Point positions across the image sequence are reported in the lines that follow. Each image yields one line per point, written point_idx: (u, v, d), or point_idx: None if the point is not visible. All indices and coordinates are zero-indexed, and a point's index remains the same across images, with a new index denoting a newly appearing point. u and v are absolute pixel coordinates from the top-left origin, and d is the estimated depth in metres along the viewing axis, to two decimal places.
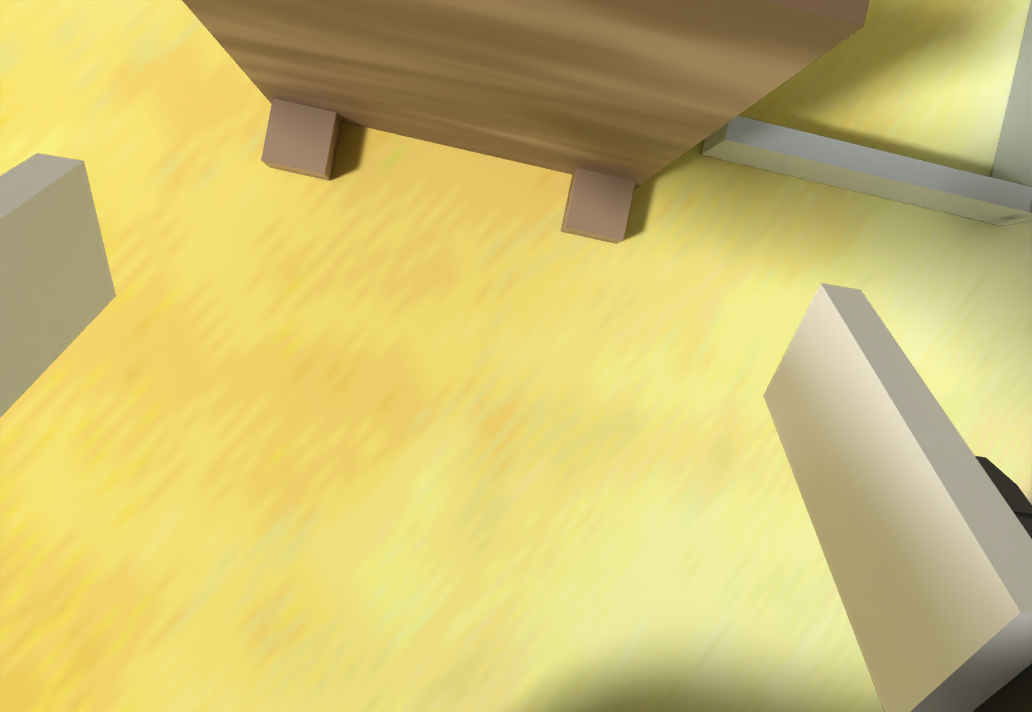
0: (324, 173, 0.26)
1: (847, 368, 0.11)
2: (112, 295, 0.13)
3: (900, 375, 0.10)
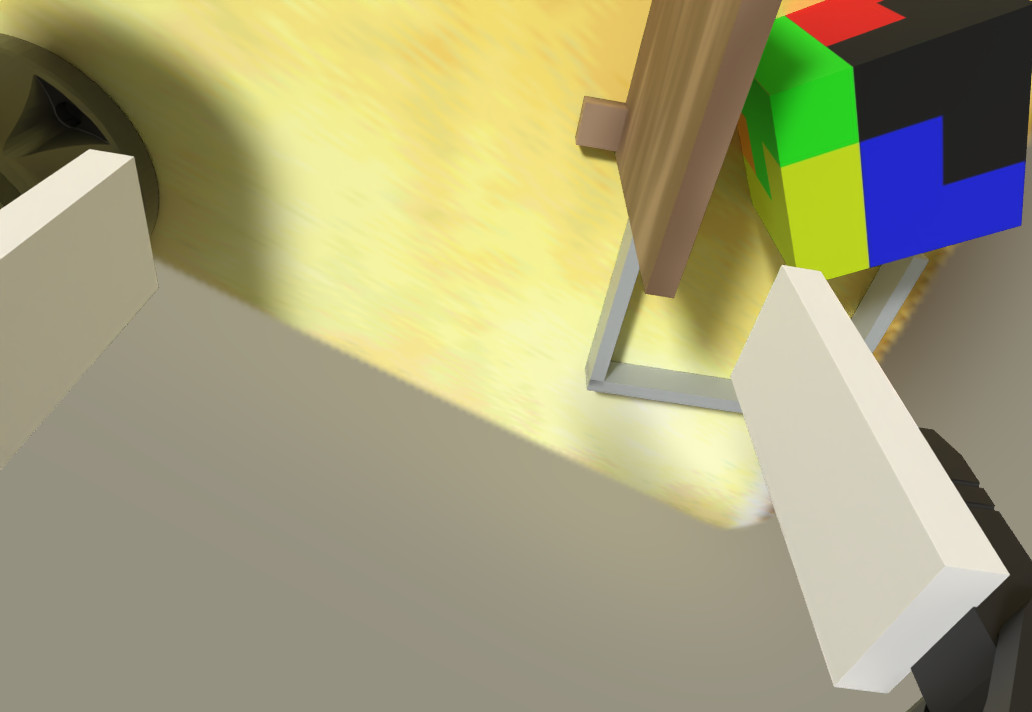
0: None
1: (803, 345, 0.11)
2: (156, 287, 0.13)
3: (851, 350, 0.11)
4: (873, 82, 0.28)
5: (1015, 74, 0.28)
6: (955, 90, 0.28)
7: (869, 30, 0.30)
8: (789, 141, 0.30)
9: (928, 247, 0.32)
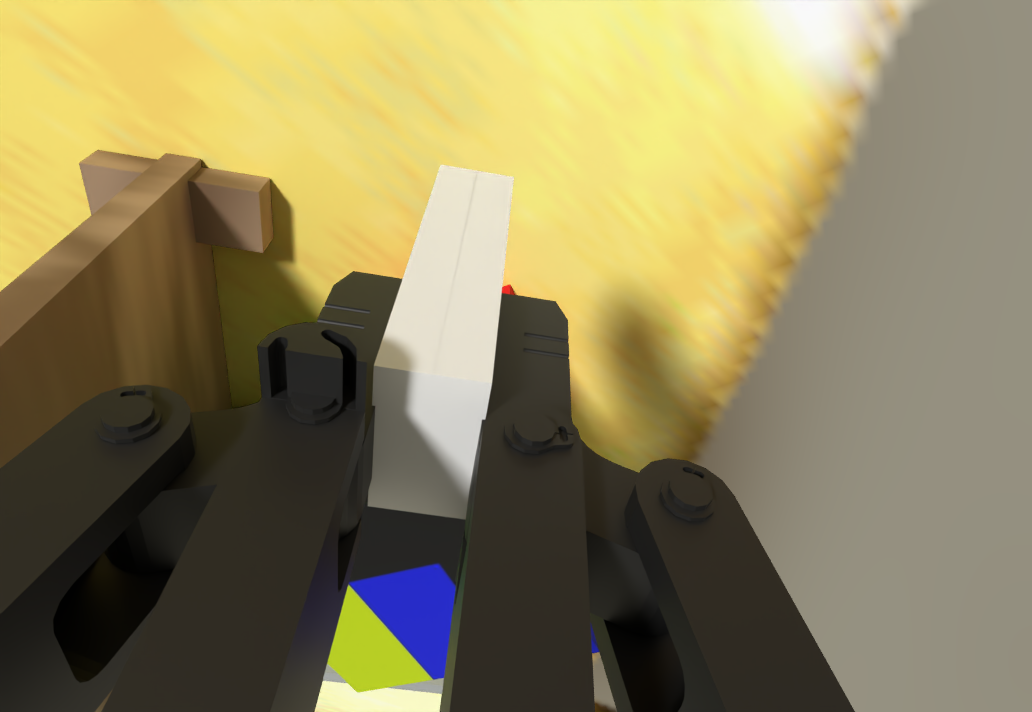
0: None
1: None
2: None
3: (488, 232, 0.12)
4: None
5: None
6: (441, 543, 0.21)
7: None
8: None
9: None
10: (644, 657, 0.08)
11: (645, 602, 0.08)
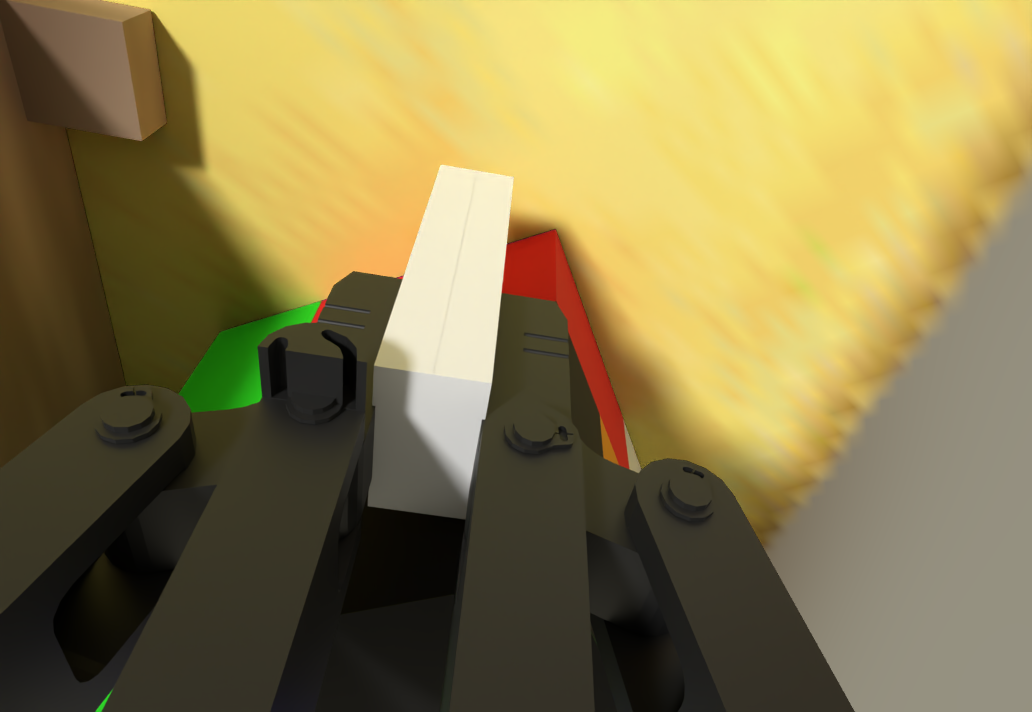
0: None
1: None
2: None
3: (488, 232, 0.12)
4: None
5: None
6: (439, 691, 0.11)
7: None
8: None
9: None
10: (643, 656, 0.08)
11: (645, 602, 0.08)
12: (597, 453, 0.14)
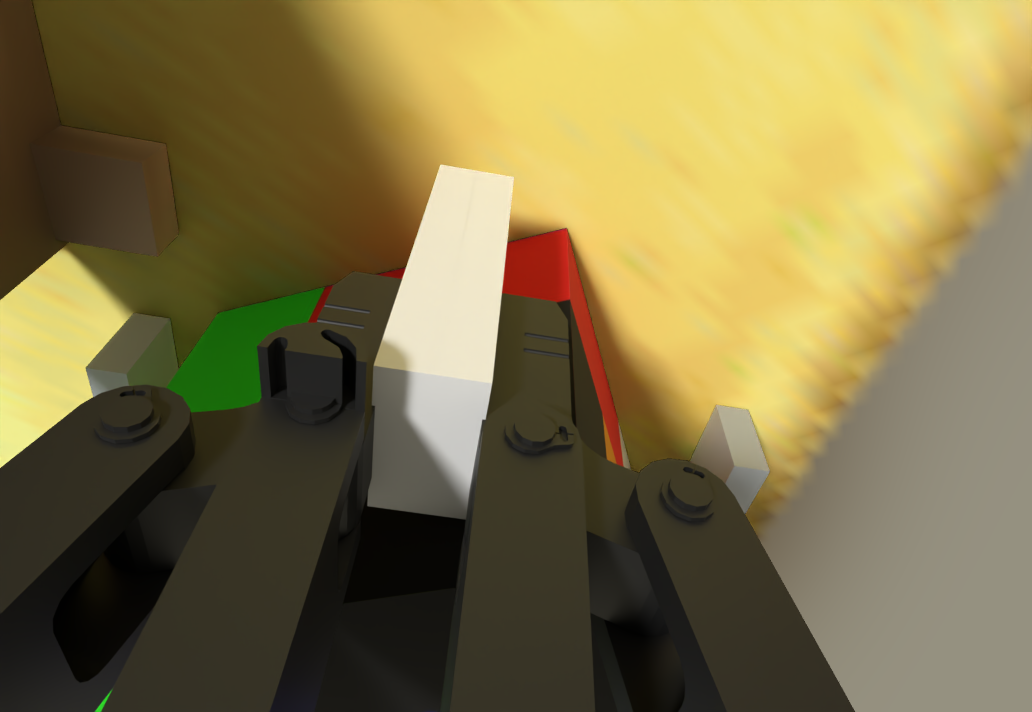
0: None
1: None
2: None
3: (488, 232, 0.12)
4: None
5: None
6: None
7: None
8: None
9: None
10: (643, 657, 0.08)
11: (645, 602, 0.08)
12: (602, 452, 0.14)
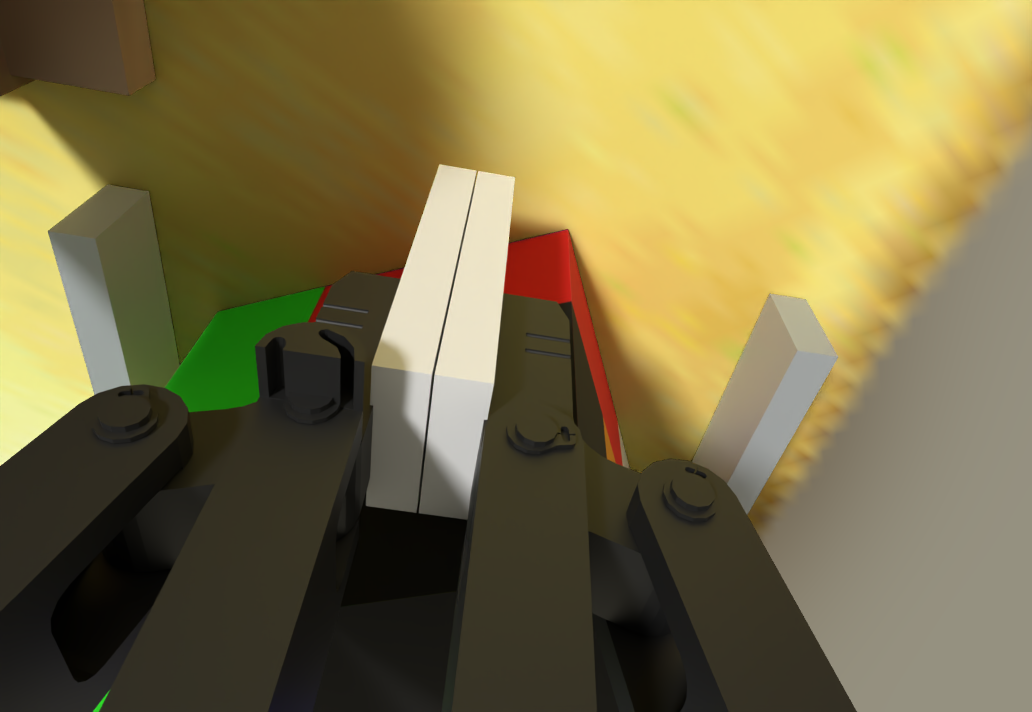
0: None
1: None
2: None
3: (489, 232, 0.12)
4: None
5: None
6: None
7: None
8: None
9: None
10: (645, 657, 0.08)
11: (647, 602, 0.08)
12: (603, 454, 0.14)
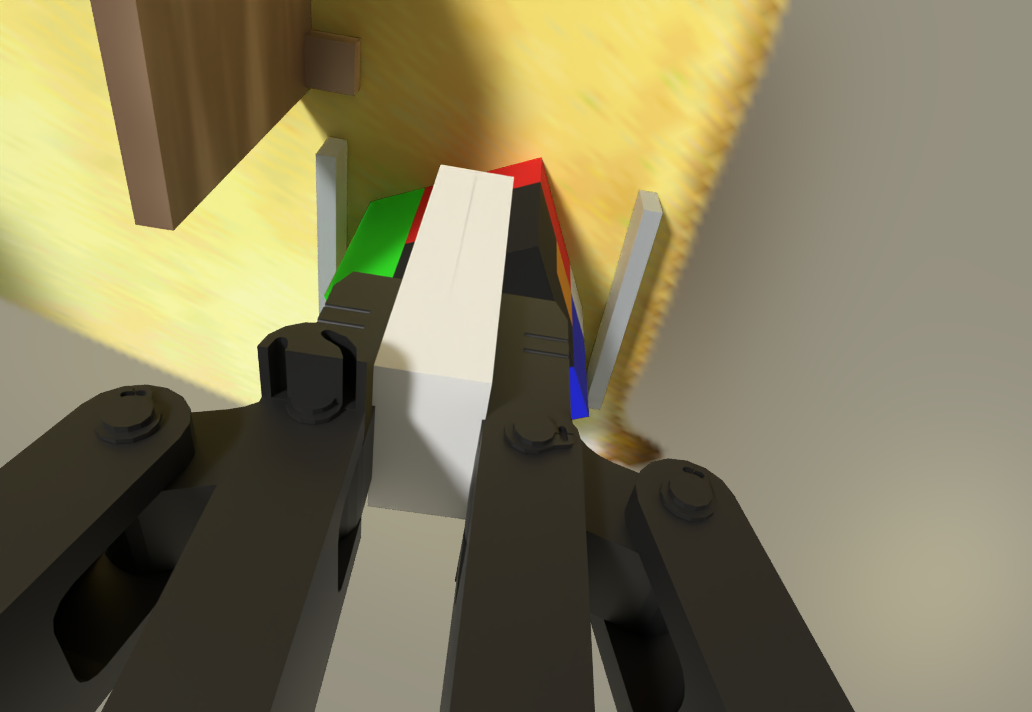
0: None
1: None
2: None
3: (488, 232, 0.12)
4: None
5: None
6: None
7: None
8: None
9: None
10: (643, 656, 0.08)
11: (645, 602, 0.08)
12: (554, 247, 0.34)
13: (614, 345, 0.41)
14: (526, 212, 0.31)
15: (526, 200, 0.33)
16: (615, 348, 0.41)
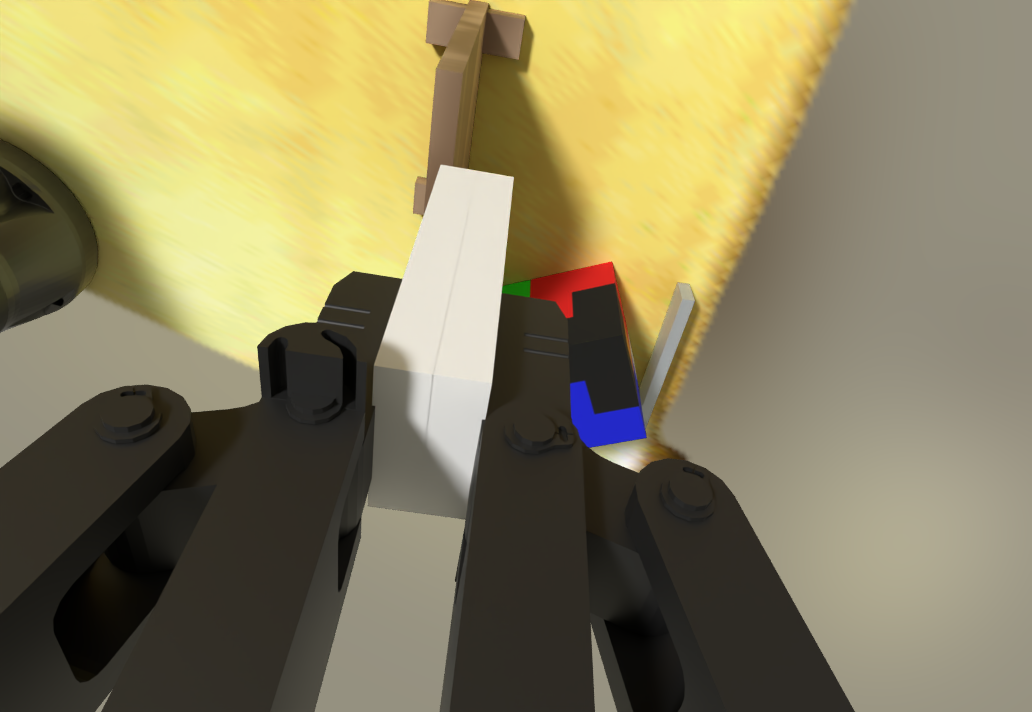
0: (426, 42, 0.43)
1: None
2: None
3: (488, 232, 0.12)
4: None
5: (621, 365, 0.47)
6: (589, 369, 0.48)
7: None
8: None
9: (594, 444, 0.52)
10: (643, 656, 0.08)
11: (645, 602, 0.08)
12: None
13: (657, 385, 0.58)
14: (609, 307, 0.49)
15: (607, 297, 0.50)
16: (658, 387, 0.58)
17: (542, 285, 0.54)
